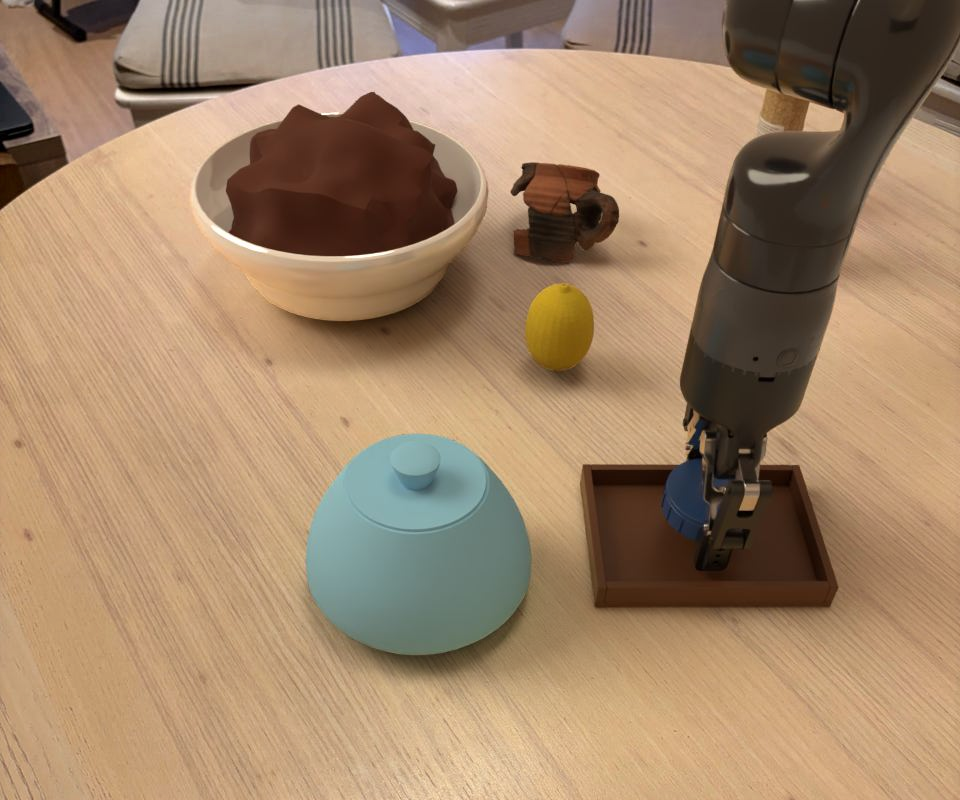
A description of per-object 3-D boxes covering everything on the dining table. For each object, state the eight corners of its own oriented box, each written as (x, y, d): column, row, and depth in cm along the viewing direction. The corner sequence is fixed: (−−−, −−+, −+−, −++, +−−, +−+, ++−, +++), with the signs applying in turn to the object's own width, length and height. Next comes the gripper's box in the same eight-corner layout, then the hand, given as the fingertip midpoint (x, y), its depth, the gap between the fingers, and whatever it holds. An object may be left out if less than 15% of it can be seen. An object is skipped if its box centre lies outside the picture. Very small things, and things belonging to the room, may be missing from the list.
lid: (656, 534, 69) (661, 515, 68) (666, 469, 73) (671, 449, 72) (751, 553, 69) (759, 534, 67) (757, 487, 72) (764, 467, 71)
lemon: (601, 371, 85) (613, 286, 79) (556, 399, 83) (565, 313, 77) (553, 342, 88) (562, 257, 82) (508, 368, 85) (513, 283, 79)
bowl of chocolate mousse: (158, 331, 87) (113, 156, 76) (279, 191, 102) (256, 27, 91) (434, 390, 83) (431, 215, 71) (518, 236, 98) (527, 70, 86)
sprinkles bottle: (791, 210, 103) (830, 68, 92) (749, 215, 102) (784, 72, 91) (773, 188, 105) (809, 47, 95) (732, 192, 105) (763, 51, 94)
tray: (792, 484, 77) (799, 464, 76) (830, 606, 70) (839, 587, 68) (579, 484, 77) (582, 463, 75) (594, 607, 69) (598, 587, 68)
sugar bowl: (570, 617, 69) (588, 490, 59) (369, 706, 64) (355, 582, 55) (462, 483, 76) (463, 353, 67) (275, 552, 72) (250, 422, 63)
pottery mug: (483, 252, 97) (493, 157, 94) (540, 259, 104) (551, 171, 101) (588, 265, 91) (602, 164, 88) (641, 271, 98) (656, 178, 95)
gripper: (675, 260, 64) (636, 463, 77) (713, 407, 55) (662, 608, 68) (794, 261, 64) (735, 463, 77) (851, 408, 55) (773, 608, 68)
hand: (701, 530), depth 72 cm, fingers closed on lid, 6 cm apart
